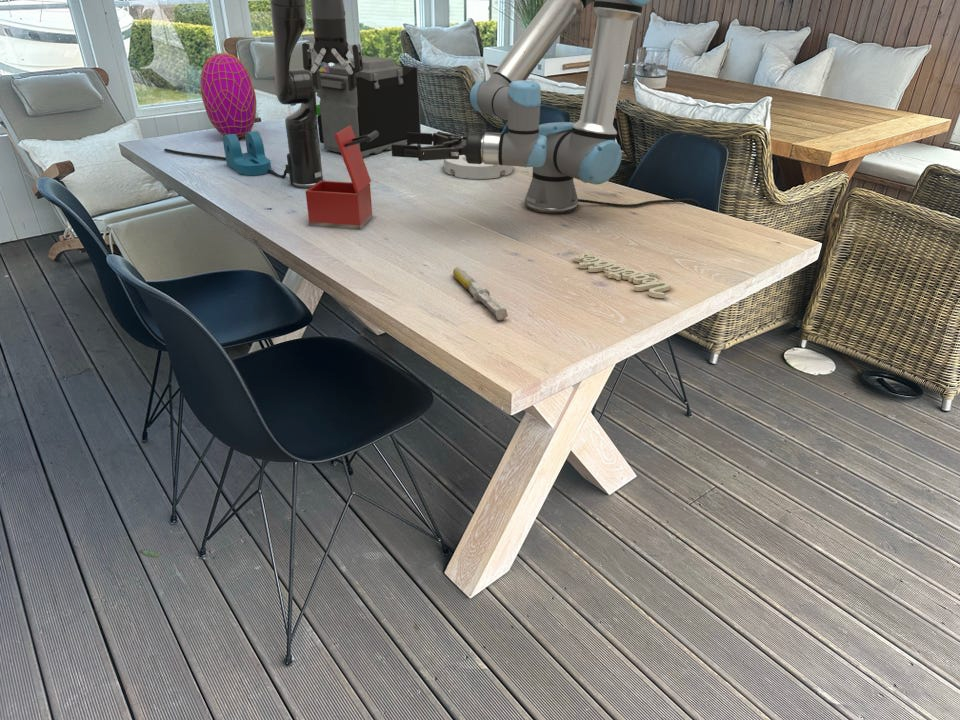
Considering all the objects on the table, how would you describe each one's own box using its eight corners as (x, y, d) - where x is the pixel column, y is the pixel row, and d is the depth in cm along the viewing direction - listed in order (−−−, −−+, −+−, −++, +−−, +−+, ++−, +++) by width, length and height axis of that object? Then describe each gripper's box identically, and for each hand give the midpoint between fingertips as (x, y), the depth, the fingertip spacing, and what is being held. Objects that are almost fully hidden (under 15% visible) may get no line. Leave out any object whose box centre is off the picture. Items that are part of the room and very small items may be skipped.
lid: (333, 134, 168) (363, 126, 166) (348, 126, 177) (376, 117, 175) (355, 193, 175) (384, 185, 173) (368, 182, 184) (396, 175, 181)
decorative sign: (686, 282, 150) (660, 295, 144) (686, 286, 150) (659, 300, 144) (592, 249, 166) (565, 259, 160) (592, 253, 167) (565, 263, 161)
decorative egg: (226, 145, 255) (211, 58, 240) (200, 137, 266) (184, 53, 251) (271, 137, 268) (259, 54, 252) (244, 129, 279) (231, 49, 263)
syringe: (449, 274, 155) (449, 263, 153) (465, 272, 156) (464, 260, 154) (490, 323, 135) (491, 310, 133) (508, 319, 136) (508, 307, 134)
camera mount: (227, 164, 233) (221, 132, 227) (257, 160, 238) (252, 129, 233) (244, 176, 220) (239, 143, 215) (276, 172, 225) (271, 139, 220)
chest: (309, 225, 182) (305, 191, 177) (323, 213, 191) (320, 180, 186) (360, 229, 180) (357, 194, 175) (372, 217, 189) (370, 183, 184)
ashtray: (446, 160, 241) (446, 148, 239) (512, 161, 241) (512, 149, 239) (441, 178, 221) (440, 165, 219) (512, 179, 221) (513, 167, 219)
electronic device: (383, 133, 276) (378, 52, 261) (425, 141, 265) (422, 56, 250) (314, 150, 251) (304, 61, 235) (358, 160, 240) (350, 67, 224)
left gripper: (293, 16, 158) (301, 91, 166) (352, 18, 155) (358, 93, 164) (306, 14, 164) (313, 86, 172) (363, 15, 162) (368, 88, 170)
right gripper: (473, 177, 160) (386, 172, 163) (491, 151, 181) (413, 147, 184) (474, 144, 156) (384, 139, 159) (492, 122, 177) (412, 118, 180)
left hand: (335, 89), depth 168 cm, fingers open, 8 cm apart
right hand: (399, 143), depth 172 cm, fingers open, 13 cm apart
